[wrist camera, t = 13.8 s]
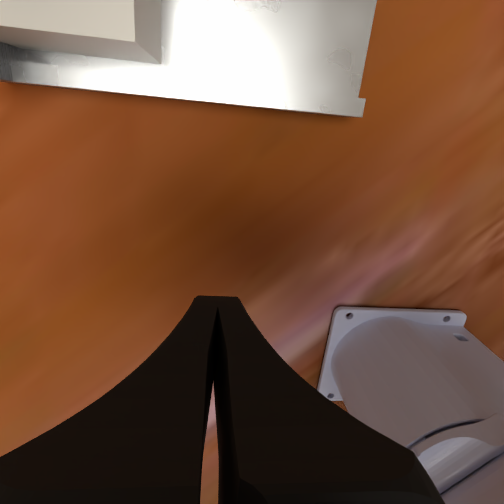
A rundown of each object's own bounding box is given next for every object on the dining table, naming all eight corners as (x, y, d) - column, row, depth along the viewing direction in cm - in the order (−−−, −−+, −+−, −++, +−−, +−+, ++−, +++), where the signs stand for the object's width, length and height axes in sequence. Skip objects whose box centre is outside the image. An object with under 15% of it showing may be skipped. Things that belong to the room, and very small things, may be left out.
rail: (375, -42, 15) (445, -114, 10) (346, 117, 18) (392, 117, 13) (-26, -106, 13) (-165, -230, 9) (6, 82, 16) (-88, 68, 11)
